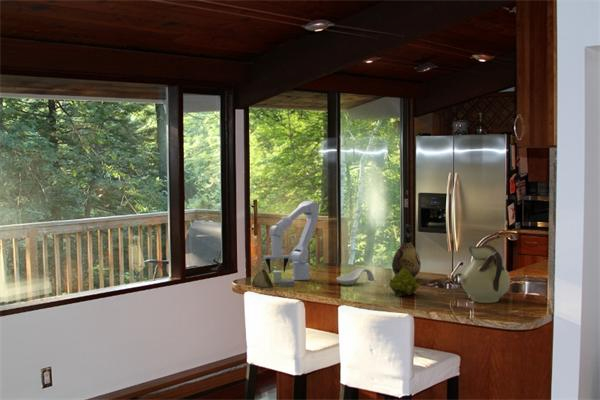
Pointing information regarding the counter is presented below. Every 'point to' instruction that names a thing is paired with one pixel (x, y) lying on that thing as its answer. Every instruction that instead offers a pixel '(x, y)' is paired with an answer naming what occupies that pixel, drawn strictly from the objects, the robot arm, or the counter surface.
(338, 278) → the spoon rest
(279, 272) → the block
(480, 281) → the pitcher
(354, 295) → the counter surface
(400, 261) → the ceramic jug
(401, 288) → the vegetable
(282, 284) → the trivet
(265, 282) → the rock
